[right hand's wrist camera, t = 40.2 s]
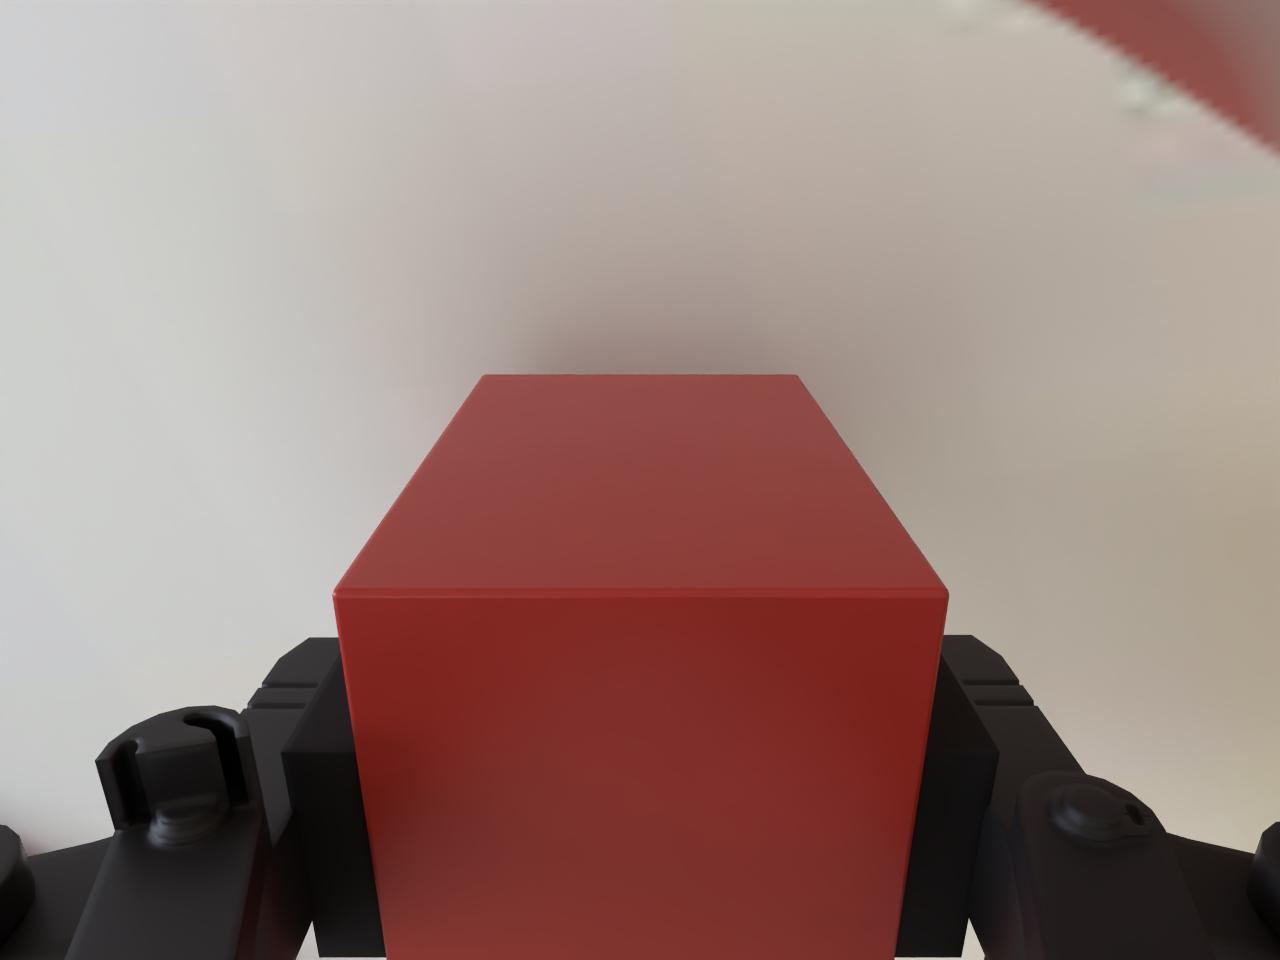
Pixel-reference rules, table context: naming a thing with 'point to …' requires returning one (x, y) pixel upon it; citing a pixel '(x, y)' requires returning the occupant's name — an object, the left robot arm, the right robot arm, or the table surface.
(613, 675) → the block
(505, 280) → the table surface
